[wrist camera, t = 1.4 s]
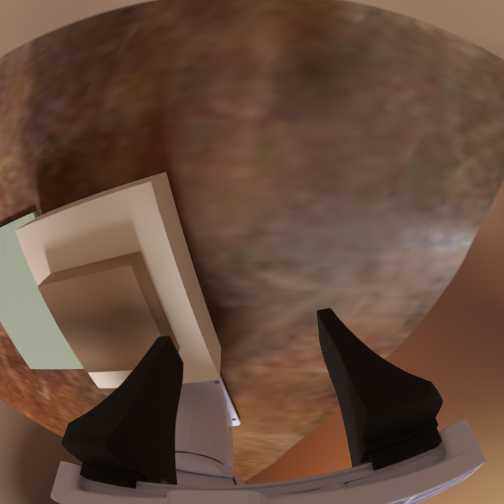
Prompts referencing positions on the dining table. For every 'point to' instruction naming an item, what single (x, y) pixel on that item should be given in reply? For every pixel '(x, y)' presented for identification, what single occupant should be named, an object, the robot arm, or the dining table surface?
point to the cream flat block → (125, 242)
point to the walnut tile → (107, 312)
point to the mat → (29, 308)
